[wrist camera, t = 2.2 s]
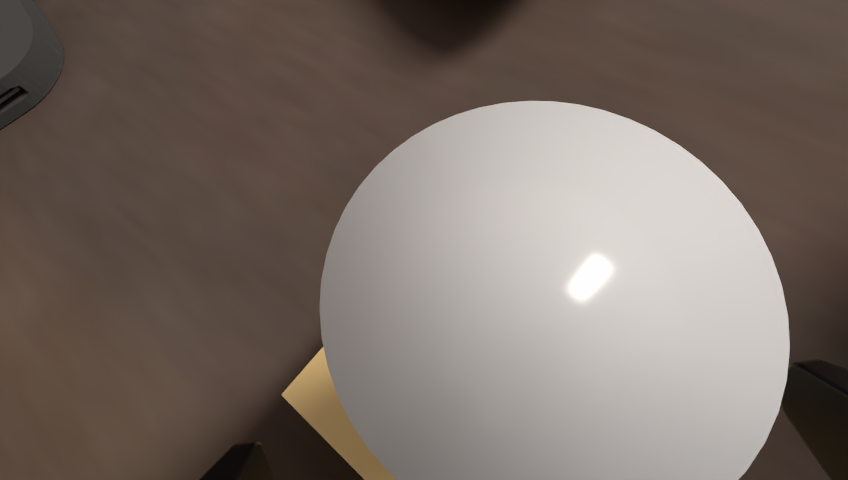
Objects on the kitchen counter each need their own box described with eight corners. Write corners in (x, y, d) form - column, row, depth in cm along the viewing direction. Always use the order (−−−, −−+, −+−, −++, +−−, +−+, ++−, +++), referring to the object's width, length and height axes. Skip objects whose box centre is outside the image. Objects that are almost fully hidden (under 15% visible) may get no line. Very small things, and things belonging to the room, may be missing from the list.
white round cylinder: (567, 373, 16) (871, 245, 4) (499, 471, 15) (624, 705, 3) (475, 303, 17) (491, 44, 5) (407, 389, 16) (231, 318, 4)
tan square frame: (662, 363, 16) (712, 350, 12) (516, 593, 14) (530, 648, 10) (464, 225, 18) (463, 185, 15) (318, 398, 16) (281, 394, 13)
